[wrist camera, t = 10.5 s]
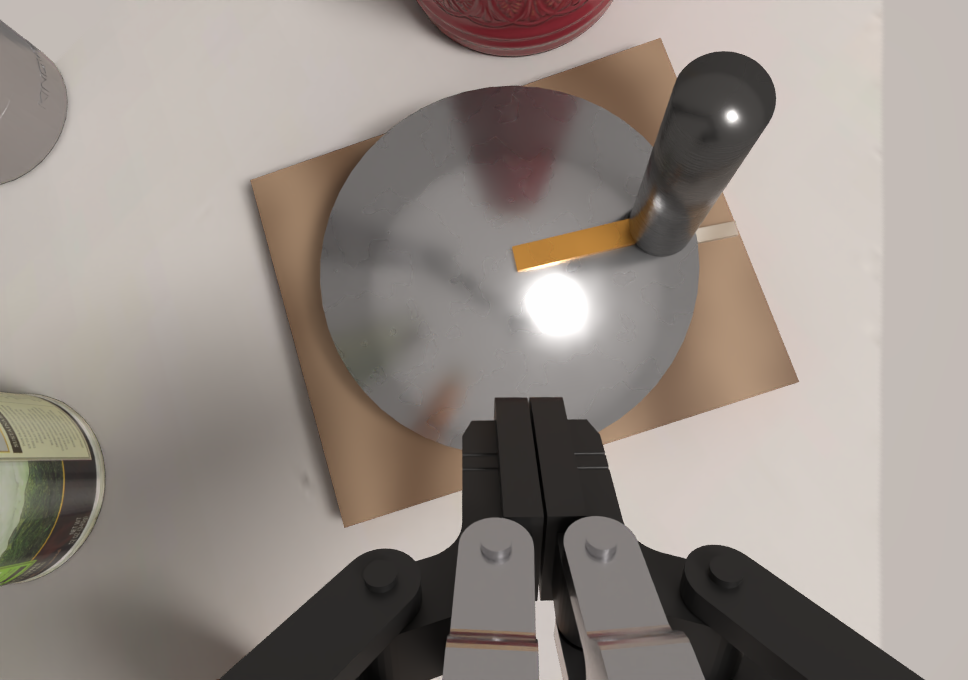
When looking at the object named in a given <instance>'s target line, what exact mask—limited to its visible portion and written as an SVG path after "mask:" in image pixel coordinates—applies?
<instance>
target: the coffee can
mask: <svg viewBox="0 0 968 680" xmlns="http://www.w3.org/2000/svg"><path fill="white" fill-rule="evenodd" d="M104 489H105V467H104V460H103V456H102V451H101V448H100V446H99V443H98V441H97V439H96V437H95V435H94V433H93V431H92V430H91V428H90V427H89V425H88V424H87V423H86V422H85V420H84V419H83V418H82V417H81V416H80V415H79V414H78V413H77V412H75V411H74V410H73V409H72V408H70V407H69V406H67V405H66V404H65V403H63V402H61V401H58V400H56V399H52V398H49V397H47V396H43V395H36V394H13V393H4V392H0V586H4V585H7V584H13V583H21V582H27V581H31V580H34V579H37V578H39V577H42V576H44V575H46V574H48V573H50V572H52V571H53V570H55V569H56V568H58V567H59V566H61V565H62V564H63V563H65V562H66V561H67V560H68V559H69V558H70V557H71V556H72V555H73V554H74V553H75V552H76V551H77V550H78V549H79V548H80V547H81V545H82V544H83V543H84V541H85V540H86V539H87V537H88V535H89V534H90V532H91V531H92V529H93V527H94V525H95V522H96V520H97V517H98V515H99V512H100V509H101V505H102V501H103V497H104Z"/></svg>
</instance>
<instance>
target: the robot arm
mask: <svg viewBox="0 0 968 680" xmlns="http://www.w3.org/2000/svg"><path fill="white" fill-rule="evenodd" d="M66 110H67V94H66V87H65V84H64V81H63V78H62V75H61V73H60V72H59V70H58V69H57V67H56V66H55V64H54V63H53V62H52V61H51V60H50V59H49V58H48V57H47V56H46V55H45V54H44V53H42V52H41V51H40V50H39V49H37V48H36V47H35V46H33V45H32V44H31V43H30V42H29V41H27V40H26V39H24V38H23V37H22V36H20V35H19V34H18V33H17V32H15V31H14V30H13V29H12V28H10V27H9V26H8V25H6V24H5V23H4V22H2V21H1V20H0V184H3V183H6V182H9V181H12V180H14V179H17V178H18V177H20V176H22V175H24V174H25V173H27V172H29V171H30V170H32V169H33V168H34V167H35V166H36V165H37V164H39V163H40V162H41V161H42V160H43V159H44V158H45V157H46V155H47V154H48V153H49V152H50V150H51V149H52V148H53V146H54V145H55V143H56V141H57V139H58V137H59V135H60V134H61V131H62V128H63V125H64V122H65V118H66ZM538 585H539V591H540V600H541V601H544V600H553V601H554V608H555V616H556V619H555V628H554V639H555V644H556V649H557V653H558V658H559V663H560V667H561V672H562V677H563V680H924V679H923V678H921V677H920V676H919V675H917V674H916V673H914V672H913V671H911V670H909V669H908V668H907V667H906V666H904V665H903V664H901V663H900V662H898V661H897V660H896V659H894V658H893V657H891V656H890V655H888V654H887V653H886V652H884V651H883V650H881V649H880V648H878V647H877V646H876V645H874V644H873V643H871V642H870V641H868V640H867V639H865V638H864V637H863V636H861V635H860V634H858V633H857V632H855V631H854V630H853V629H851V628H850V627H848V626H847V625H845V624H844V623H843V622H841V621H840V620H838V619H837V618H835V617H834V616H832V615H831V614H830V613H828V612H827V611H825V610H824V609H822V608H821V607H820V606H818V605H817V604H815V603H814V602H812V601H811V600H810V599H808V598H807V597H805V596H804V595H802V594H801V593H800V592H798V591H797V590H795V589H794V588H792V587H791V586H789V585H788V584H787V583H785V582H784V581H782V580H781V579H779V578H778V577H777V576H775V575H774V574H772V573H771V572H769V571H768V570H767V569H765V568H764V567H762V566H761V565H759V564H758V563H756V562H755V561H754V560H752V559H751V558H749V557H748V556H746V555H745V554H743V553H741V552H740V551H737V550H735V549H733V548H730V547H726V546H721V545H706V546H702V547H699V548H697V549H695V550H694V551H692V552H691V553H690V554H689V555H688V557H687V559H685V558H681V557H677V556H673V555H669V554H665V553H661V552H658V551H655V550H653V549H650V548H648V547H646V546H645V545H643V544H641V543H640V542H639V541H637V539H636V537H635V535H634V534H633V533H632V531H631V530H630V529H629V528H628V527H626V526H625V525H624V522H623V519H622V516H621V512H620V508H619V504H618V500H617V497H616V493H615V489H614V485H613V482H612V478H611V474H610V470H609V469H608V463H607V459H606V455H605V451H604V447H603V444H602V440H601V436H600V434H599V433H598V432H597V430H596V429H595V428H594V427H593V426H592V425H591V424H590V423H589V421H588V420H587V419H567V415H566V410H565V405H564V401H563V397H529V402H528V398H527V397H495V399H494V420H476V421H471V422H470V424H469V426H468V427H467V429H466V431H465V432H464V434H463V435H462V529H461V532H460V534H459V536H458V538H457V539H456V541H455V542H454V543H453V544H452V545H451V546H450V547H449V548H447V549H446V550H445V551H443V552H441V553H439V554H437V555H434V556H432V557H429V558H425V559H422V560H419V561H414V560H413V558H411V557H410V556H409V555H407V554H405V553H404V552H401V551H398V550H394V549H376V550H372V551H369V552H366V553H364V554H362V555H360V556H359V557H357V558H356V559H355V560H353V561H352V562H351V563H350V564H349V565H348V566H346V567H345V568H344V569H343V570H342V571H341V572H340V573H339V574H337V575H336V576H335V577H334V578H333V579H332V580H331V581H329V582H328V583H327V584H326V585H325V586H324V587H323V588H322V589H320V590H319V591H318V592H317V593H316V594H315V595H314V596H313V597H311V598H310V599H309V600H308V601H307V602H306V603H305V604H304V605H302V606H301V607H300V608H299V609H298V610H297V611H296V612H295V613H293V614H292V615H291V616H290V617H289V618H288V619H287V620H286V621H284V622H283V623H282V624H281V625H280V626H279V627H278V628H276V629H275V630H274V631H273V632H272V633H271V634H270V635H269V636H267V637H266V638H265V639H264V640H263V641H262V642H261V643H260V644H258V645H257V646H256V647H255V648H254V649H253V650H252V651H251V652H249V653H248V654H247V655H246V656H245V657H244V658H243V659H242V660H240V661H239V662H238V663H237V664H236V665H235V666H234V667H233V668H231V669H230V670H229V671H228V672H227V673H226V674H225V675H224V676H222V677H221V678H220V679H219V680H430V679H433V678H436V677H438V676H441V675H443V678H442V680H539V660H538V640H537V639H536V630H535V601H537V597H538Z"/></svg>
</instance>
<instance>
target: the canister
mask: <svg viewBox="0 0 968 680" xmlns="http://www.w3.org/2000/svg"><path fill="white" fill-rule="evenodd" d="M416 1H417V2H418V4H419V5H420V6H421V8H422V9H423V10H424V12H425V13H426V15H427V16H428V18H429V19H430V20H431V21H432V23H433V24H434V25H435V26H436V27H437V28H438V29H439V30H440V31H442V32H443V33H444V34H445V35H447V36H448V37H449V38H451V39H452V40H454V41H456V42H457V43H459V44H461V45H463V46H465V47H467V48H470V49H472V50H475V51H478V52H482V53H486V54H491V55H498V56H525V55H532V54H537V53H542V52H545V51H549V50H551V49H554V48H557V47H559V46H562V45H564V44H566V43H568V42H570V41H572V40H573V39H575V38H576V37H578V36H580V35H581V34H582V33H584V32H585V31H586V30H588V29H589V28H590V27H591V26H592V25H593V24H594V23H596V22H597V21H598V20H599V19H600V17H601V16H602V15H603V14H604V13H605V11H606V10H607V9H608V7H609V6H610V5H611V3H612V1H613V0H416Z"/></svg>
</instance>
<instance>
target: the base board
mask: <svg viewBox="0 0 968 680" xmlns="http://www.w3.org/2000/svg"><path fill="white" fill-rule="evenodd" d="M676 79H677V77H676V75H675V73H674V70H673V68H672V65H671V63H670V60H669V58H668V55H667V53H666V50H665V48H664V45H663V43H662V40H661V38H659V39H656V40H653V41H650V42H647V43H644V44H642V45H639V46H636V47H633V48H630V49H627V50H624V51H621V52H619V53H616V54H613V55H610V56H607V57H604V58H601V59H598V60H595V61H593V62H590V63H587V64H584V65H581V66H578V67H575V68H572V69H570V70H567V71H564V72H561V73H558V74H555V75H552V76H549V77H546V78H544V79H541V80H538V81H535V82H532V83H529V84H526V85H523V86H526V87H539V88H544V89H550V90H555V91H560V92H563V93H567V94H570V95H573V96H576V97H579V98H583V99H585V100H587V101H589V102H591V103H593V104H596V105H598V106H600V107H602V108H604V109H606V110H608V111H609V112H611V113H612V114H614V115H616V116H617V117H619V118H620V119H622V120H624V121H625V122H626V123H627V124H629V125H630V126H631V127H632V128H633V129H635V130H636V131H637V132H638V133H640V134H641V135H642V136H643V137H644V138H645V139H646V140H647V141H648V142H649V143H650V144H651V145H652V147H653V146H654V143H655V140H656V137H657V135H658V132H659V129H660V126H661V123H662V120H663V117H664V114H665V111H666V108H667V105H668V102H669V99H670V96H671V93H672V90H673V87H674V84H675V82H676ZM385 134H386V133H385ZM383 135H384V134H382V135H379V136H376V137H374V138H371V139H368V140H365V141H362V142H359V143H356V144H353V145H350V146H348V147H345V148H342V149H339V150H336V151H333V152H330V153H327V154H325V155H322V156H319V157H316V158H313V159H310V160H307V161H304V162H301V163H299V164H296V165H293V166H290V167H287V168H284V169H281V170H278V171H276V172H273V173H270V174H267V175H264V176H261V177H258V178H255V179H252V180H250V181H251V184H252V188H253V192H254V195H255V199H256V203H257V206H258V210H259V214H260V217H261V221H262V225H263V229H264V232H265V236H266V240H267V243H268V247H269V251H270V254H271V258H272V262H273V266H274V269H275V273H276V277H277V280H278V284H279V288H280V291H281V295H282V299H283V303H284V306H285V310H286V314H287V317H288V321H289V325H290V328H291V332H292V336H293V339H294V343H295V347H296V351H297V354H298V358H299V362H300V365H301V369H302V373H303V376H304V380H305V384H306V388H307V391H308V395H309V399H310V402H311V406H312V410H313V413H314V417H315V421H316V425H317V428H318V432H319V436H320V439H321V443H322V447H323V450H324V454H325V458H326V461H327V465H328V469H329V473H330V476H331V480H332V484H333V487H334V491H335V495H336V498H337V502H338V506H339V510H340V513H341V517H342V521H343V524H344V528H346V527H349V526H352V525H355V524H358V523H361V522H364V521H367V520H370V519H374V518H377V517H380V516H383V515H386V514H389V513H392V512H395V511H398V510H402V509H405V508H408V507H411V506H414V505H417V504H420V503H423V502H426V501H430V500H433V499H436V498H439V497H442V496H445V495H448V494H451V493H454V492H458V491H461V490H462V450H461V449H457V448H453V447H449V446H445V445H443V444H440V443H438V442H435V441H433V440H430V439H428V438H425V437H423V436H421V435H419V434H418V433H416V432H414V431H412V430H411V429H409V428H407V427H405V426H403V425H402V424H400V423H399V422H398V421H396V420H395V419H394V418H392V417H391V416H390V415H388V414H387V413H386V412H384V411H383V410H382V409H381V408H380V407H379V406H378V405H377V404H376V403H375V402H374V401H373V400H372V399H371V398H370V397H369V396H368V395H367V394H366V393H365V392H364V391H363V390H362V389H361V387H360V386H359V385H358V383H357V382H356V381H355V379H354V378H353V377H352V375H351V374H350V373H349V371H348V369H347V368H346V366H345V364H344V362H343V360H342V359H341V357H340V355H339V353H338V352H337V349H336V347H335V344H334V342H333V339H332V337H331V334H330V332H329V329H328V325H327V321H326V317H325V313H324V309H323V304H322V295H321V286H320V262H321V253H322V246H323V239H324V234H325V231H326V227H327V224H328V220H329V217H330V213H331V211H332V209H333V206H334V204H335V202H336V199H337V197H338V195H339V192H340V190H341V189H342V187H343V185H344V184H345V182H346V180H347V178H348V177H349V175H350V173H351V172H352V170H353V169H354V168H355V166H356V165H357V164H358V162H359V161H360V160H361V159H362V157H363V156H364V155H365V153H366V152H367V151H368V150H369V149H370V148H371V147H372V146H373V145H374V144H375V143H376V142H377V141H378V140H379V139H380V138H381V137H382V136H383ZM696 236H697V241H698V252H699V281H698V293H697V298H696V302H695V307H694V312H693V316H692V319H691V322H690V325H689V328H688V330H687V333H686V336H685V339H684V341H683V343H682V345H681V347H680V349H679V351H678V353H677V354H676V356H675V358H674V360H673V362H672V364H671V365H670V366H669V368H668V369H667V371H666V372H665V374H664V375H663V376H662V378H661V379H660V381H659V382H658V383H657V385H656V386H655V387H654V388H653V389H652V390H651V391H650V392H649V393H648V394H647V395H646V396H645V397H644V398H643V399H642V401H641V402H640V403H638V404H637V405H636V406H635V407H634V408H632V409H631V410H630V411H629V412H627V413H626V414H625V415H624V416H623V417H621V418H620V419H619V420H617V421H615V422H614V423H612V424H611V425H609V426H607V427H606V428H604V429H602V430H601V431H599V432H598V433H599V434H600V436H601V440H602V444H603V445H604V444H607V443H610V442H613V441H616V440H620V439H623V438H626V437H629V436H632V435H635V434H638V433H641V432H644V431H648V430H651V429H654V428H657V427H660V426H663V425H666V424H669V423H672V422H676V421H679V420H682V419H685V418H688V417H691V416H694V415H697V414H700V413H704V412H707V411H710V410H713V409H716V408H719V407H722V406H725V405H728V404H732V403H735V402H738V401H741V400H744V399H747V398H750V397H753V396H756V395H760V394H763V393H766V392H769V391H772V390H775V389H778V388H781V387H785V386H788V385H791V384H794V383H797V382H799V380H798V378H797V375H796V373H795V370H794V368H793V365H792V363H791V360H790V358H789V356H788V353H787V351H786V348H785V346H784V343H783V341H782V338H781V336H780V333H779V331H778V328H777V326H776V323H775V321H774V318H773V316H772V313H771V311H770V308H769V306H768V303H767V301H766V298H765V296H764V293H763V291H762V288H761V286H760V284H759V281H758V279H757V276H756V274H755V271H754V269H753V266H752V264H751V261H750V259H749V256H748V254H747V251H746V249H745V246H744V244H743V241H742V239H741V236H740V234H739V231H738V229H737V226H736V222H735V221H734V219H733V216H732V214H731V212H730V209H729V207H728V204H727V202H726V199H725V197H724V194H723V192H722V193H721V195H720V196H719V198H718V199H717V201H716V202H715V204H714V205H713V207H712V208H711V210H710V211H709V213H708V214H707V216H706V217H705V219H704V220H703V222H702V223H701V225H700V226H699V228H698V229H697V231H696Z"/></svg>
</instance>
